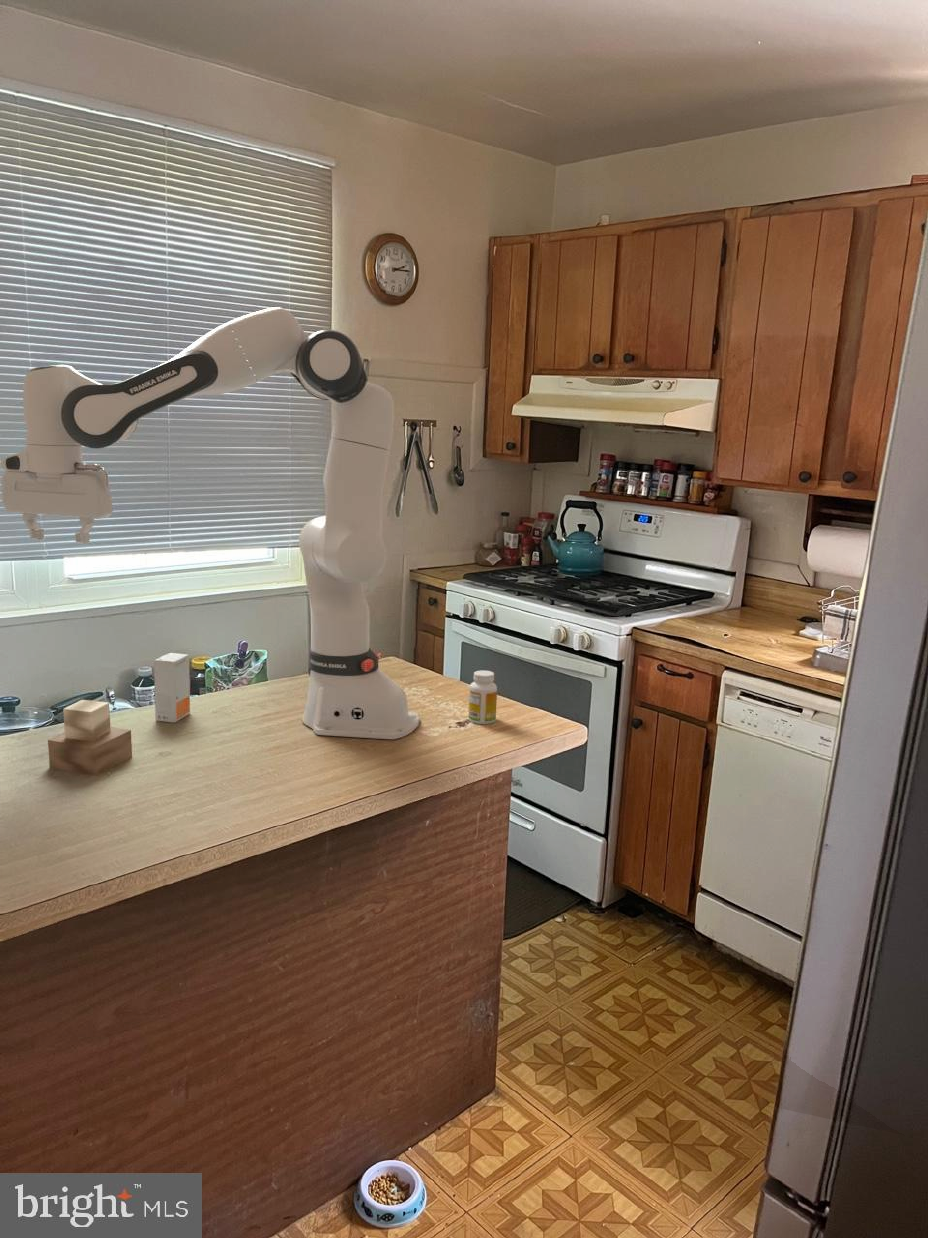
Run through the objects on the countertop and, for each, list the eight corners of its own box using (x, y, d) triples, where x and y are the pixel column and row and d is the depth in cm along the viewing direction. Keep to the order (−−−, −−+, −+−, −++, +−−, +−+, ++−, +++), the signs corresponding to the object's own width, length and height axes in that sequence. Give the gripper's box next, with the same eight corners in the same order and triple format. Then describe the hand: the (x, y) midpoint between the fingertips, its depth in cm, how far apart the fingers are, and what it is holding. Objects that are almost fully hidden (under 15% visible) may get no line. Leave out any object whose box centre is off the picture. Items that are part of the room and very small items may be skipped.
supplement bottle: (495, 716, 179) (497, 669, 177) (495, 725, 174) (498, 677, 172) (468, 715, 179) (470, 668, 177) (468, 724, 174) (470, 676, 172)
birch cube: (110, 731, 150) (109, 702, 148) (92, 741, 145) (91, 712, 144) (83, 727, 151) (82, 699, 149) (65, 738, 146) (63, 708, 145)
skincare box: (175, 723, 168) (173, 662, 165) (154, 721, 169) (152, 660, 166) (191, 713, 174) (189, 654, 171) (171, 711, 175) (169, 652, 172)
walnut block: (132, 758, 152) (130, 730, 150) (95, 777, 143) (94, 748, 142) (88, 750, 154) (86, 722, 153) (49, 768, 146) (47, 739, 145)
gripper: (118, 463, 155) (122, 543, 158) (19, 458, 160) (24, 534, 163) (94, 465, 149) (98, 547, 152) (-8, 459, 154) (-2, 538, 158)
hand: (59, 540), depth 158 cm, fingers open, 8 cm apart
